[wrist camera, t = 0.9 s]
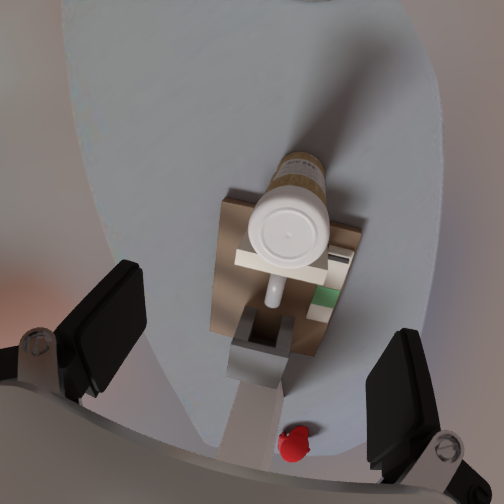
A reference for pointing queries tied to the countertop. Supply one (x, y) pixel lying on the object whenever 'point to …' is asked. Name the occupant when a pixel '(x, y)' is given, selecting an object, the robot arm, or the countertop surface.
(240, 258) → the spring plunger
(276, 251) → the sprinkles bottle
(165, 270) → the countertop surface
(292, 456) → the cap
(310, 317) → the gauge frame
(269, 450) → the milk
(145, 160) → the countertop surface
